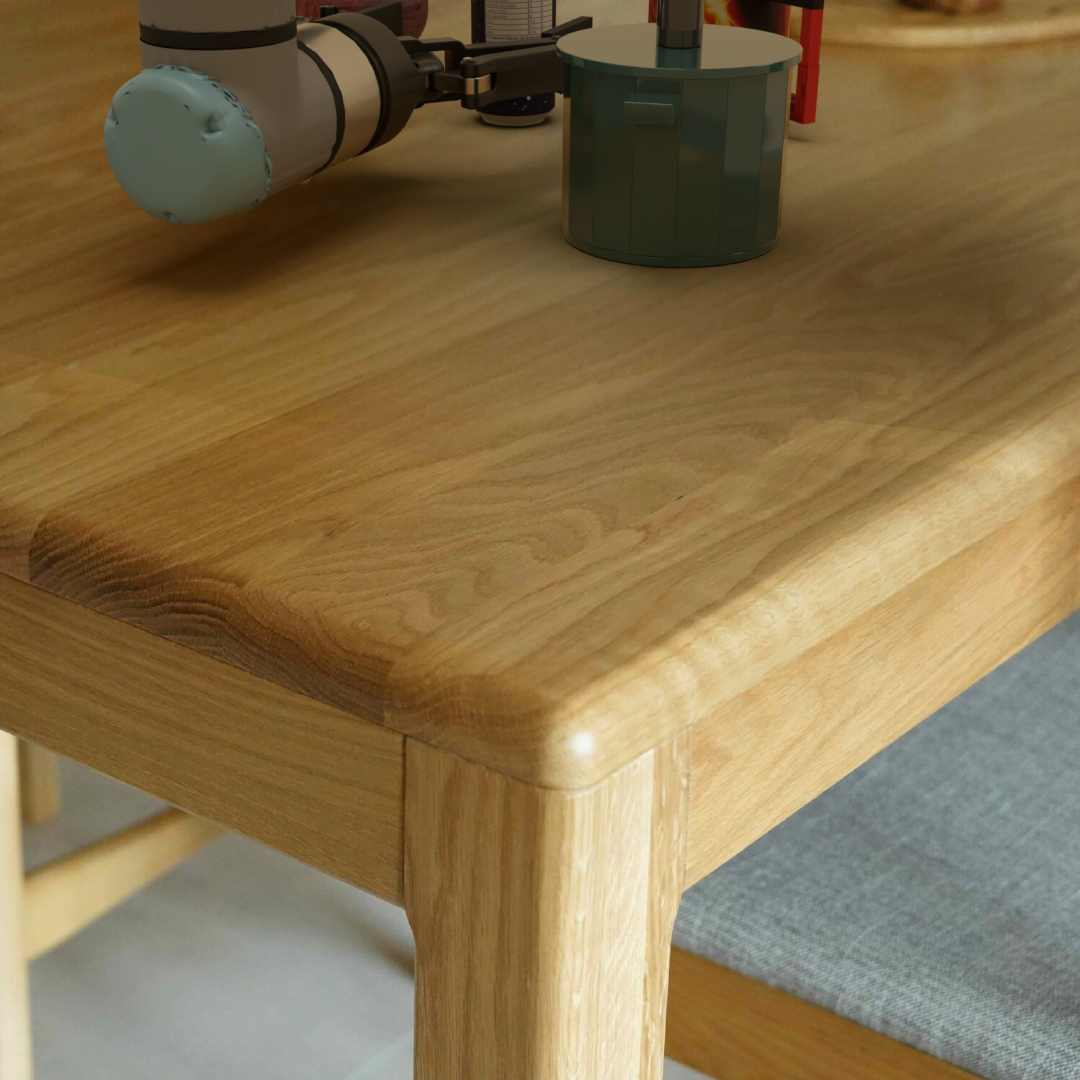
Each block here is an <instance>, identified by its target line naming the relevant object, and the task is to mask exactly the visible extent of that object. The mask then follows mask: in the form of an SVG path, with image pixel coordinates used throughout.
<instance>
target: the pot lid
mask: <svg viewBox="0 0 1080 1080" xmlns="http://www.w3.org/2000/svg"><path fill="white" fill-rule="evenodd" d="M704 6H705V0H657V21H656V23H648V22H643V23H641V22H640V23H623V24H612V25H604V26H596V27H593V28H590V29H585V30H580V31H576V32H573V33H570V34H567V35H565V36H563V37H561V38H560V39H559V40H558V41H557V44H556V54H557V56H558V57H559V58H560V59H561V60H563V61H565V62H567V63H569V64H572V65H574V66H577V67H581V68H584V69H588V70H593V71H597V72H603V73H609V74H616V75H623V76H632V77H643V78H657V79H688V80H696V79H728V78H741V77H750V76H758V75H765V74H770V73H775V72H779V71H783V70H786V69H789V68H791V67H793V68H795V66H798V64H799V63H800V62H801V60H802V54H803V48H802V46H801V45H800V42H798V41H796V40H794V39H792V38H790V37H789V38H787V37H784V36H781V35H778V34H774V33H770V32H765V31H760V30H754V29H748V28H741V27H732V26H723V25H711V24H704Z"/></svg>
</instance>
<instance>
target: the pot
mask: <svg viewBox="0 0 1080 1080" xmlns="http://www.w3.org/2000/svg"><path fill="white" fill-rule="evenodd" d="M793 74H794V67H791V68H789V69H786V70H783V71H779V72H775V73H770V74H765V75H758V76H750V77H741V78H728V79H696V80H688V79H657V78H643V77H632V76H623V75H616V74H609V73H603V72H597V71H593V70H588V69H584V68H581V67H577V66H574V65H572V64H569V63H567V62H565V61H564V81H563V94H562V95H563V97H562V98H563V99H562V155H561V156H562V160H561V161H562V164H561V166H562V167H561V168H562V169H561V224H562V226H563V227H562V228H563V229H562V230H563V232H562V234H563V236H564V239H565V240H566V241H567V242H568V244H569V245H571V246H572V247H574V248H575V249H578V250H580V251H581V252H583V253H586V254H588V255H592V256H594V257H598V258H601V259H605V260H609V261H614V262H619V263H624V264H632V265H638V266H647V267H660V268H662V267H663V268H701V267H714V266H721V265H722V266H723V265H729V264H735V263H740V262H745V261H748V260H751V259H754V258H758V257H760V256H763V255H765V254H766V253H768V252H770V251H772V250H774V248H775V247H776V245H778V243H779V238H780V229H781V227H782V219H783V218H782V217H783V204H784V191H785V179H786V178H785V177H786V164H787V150H788V141H789V140H788V139H789V138H788V137H789V127H790V126H789V125H790V120H789V114H790V101H791V93H792V88H793V87H792V86H793Z"/></svg>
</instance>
